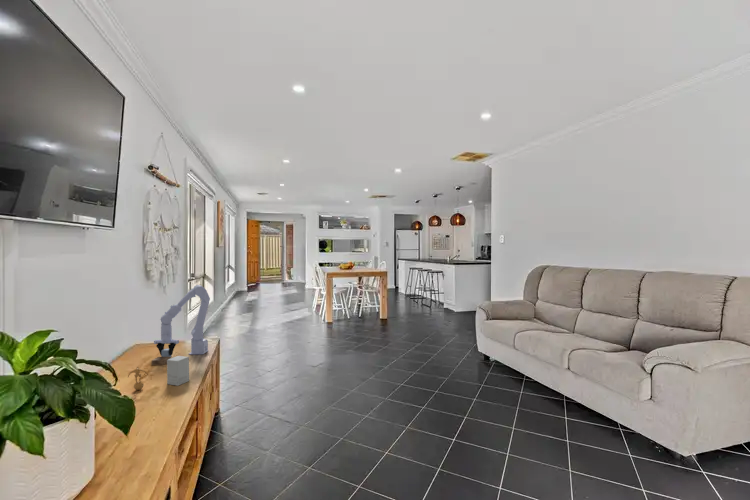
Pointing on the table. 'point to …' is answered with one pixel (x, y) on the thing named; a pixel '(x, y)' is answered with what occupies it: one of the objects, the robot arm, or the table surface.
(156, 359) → the walnut pedestal
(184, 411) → the table surface
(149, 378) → the table surface
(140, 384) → the figurine
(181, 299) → the robot arm
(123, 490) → the table surface
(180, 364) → the supplement box
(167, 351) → the blue block
